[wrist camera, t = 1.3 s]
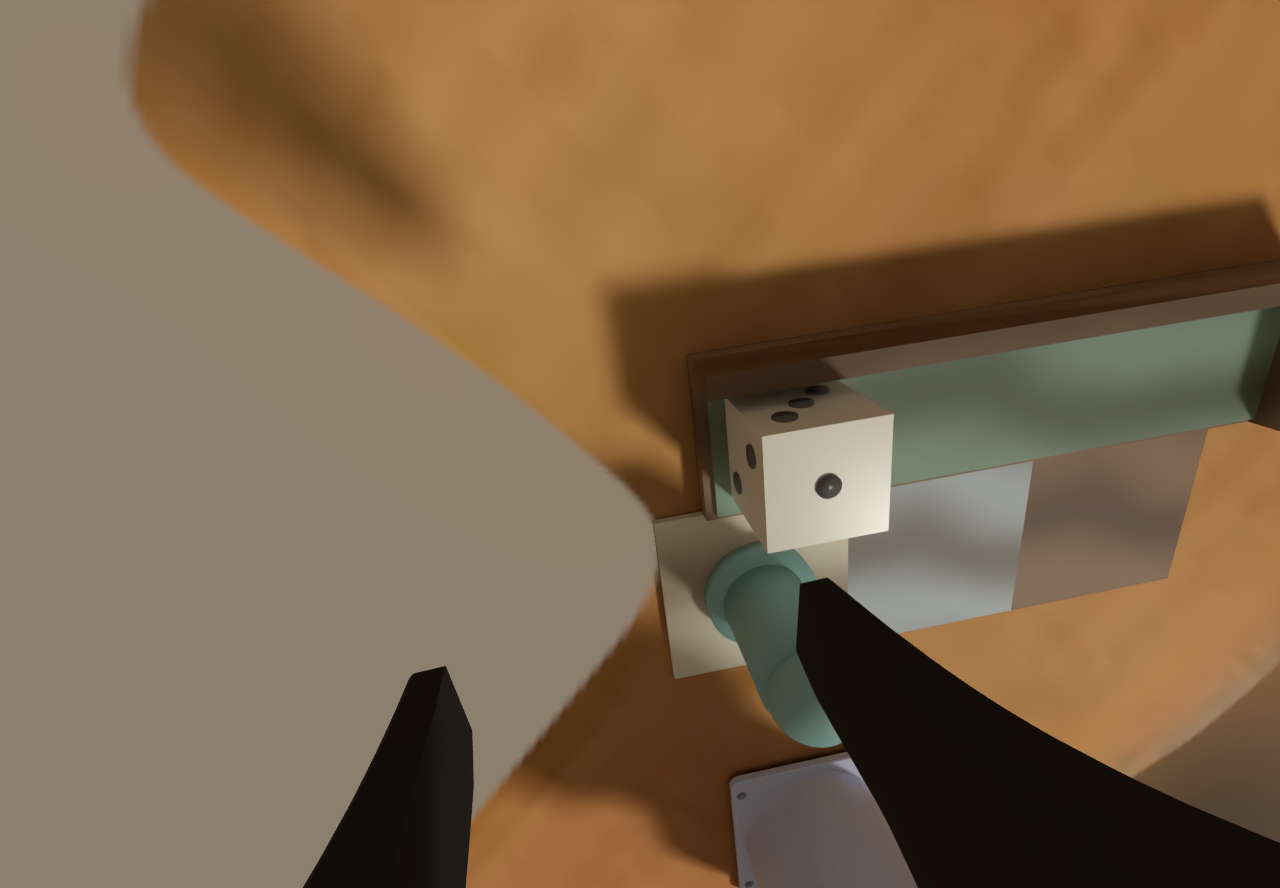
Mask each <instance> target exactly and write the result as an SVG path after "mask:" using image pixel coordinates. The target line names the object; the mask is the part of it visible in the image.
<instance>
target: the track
mask: <svg viewBox="0 0 1280 888" xmlns="http://www.w3.org/2000/svg"><path fill="white" fill-rule="evenodd" d="M1207 430H1208V429H1204V430H1199V431H1193V432H1188V433H1183V434H1177V435H1172V436H1166V437H1161V438H1155V439H1150V440H1145V441H1139V442H1134V443H1128V444H1123V445H1117V446H1112V447H1107V448H1101V449H1096V450H1090V451H1085V452H1079V453H1074V454H1069V455H1063V456H1058V457H1052V458H1047V459H1041V460H1036V461H1031V462H1025V463H1020V464H1014V465H1009V466H1003V467H998V468H993V469H987V470H982V471H976V472H971V473H965V474H960V475H955V476H949V477H944V478H938V479H933V480H927V481H922V482H917V483H911V484H906V485H900V486H895V487H890V508H889V530H888V531H884V532H879V533H874V534H869V535H863V536H858V537H853V538H848V539H842V540H837V541H832V542H827V543H821V544H816V545H811V546H806V547H800V548H795V549H794V550H796V551H797V552H798V553H799V554H800V555H801V556H802V557H803V559H804V560H805V561H806V563H807V564H808V565H809V567H810V568H811V570H812V571H813V573H814V575H815V577H816V580H818V579H822V578H827V577H828V578H829V579H831V580H832V581H833V582H834V583H836V584H837V585H838V586H839V587H841V588H842V589H843V590H844V591H845V592H847V593H848V594H849V595H850V596H852V597H853V598H854V599H855V600H856V601H858V602H859V603H860V604H861V605H862V606H864V607H865V608H866V609H867V610H869V611H870V612H871V613H872V614H874V615H875V616H876V617H877V618H879V619H880V620H881V621H882V622H884V623H885V624H886V625H887V626H889V627H890V628H891V629H892V630H894V631H895V632H896V633H903V632H908V631H913V630H917V629H922V628H927V627H932V626H937V625H942V624H947V623H951V622H956V621H961V620H966V619H971V618H976V617H981V616H985V615H990V614H995V613H1000V612H1005V611H1010V610H1015V609H1020V608H1024V607H1029V606H1034V605H1039V604H1044V603H1049V602H1054V601H1058V600H1063V599H1068V598H1073V597H1078V596H1083V595H1088V594H1092V593H1097V592H1102V591H1107V590H1112V589H1117V588H1122V587H1127V586H1131V585H1136V584H1141V583H1146V582H1151V581H1156V580H1161V579H1165V578H1168V574H1169V571H1170V567H1171V563H1172V560H1173V556H1174V552H1175V548H1176V545H1177V541H1178V537H1179V534H1180V530H1181V526H1182V523H1183V519H1184V515H1185V512H1186V508H1187V504H1188V501H1189V497H1190V493H1191V489H1192V486H1193V482H1194V478H1195V475H1196V471H1197V467H1198V464H1199V460H1200V456H1201V453H1202V449H1203V445H1204V442H1205V438H1206V434H1207ZM653 528H654V535H655V543H656V550H657V557H658V565H659V572H660V579H661V587H662V594H663V602H664V609H665V616H666V624H667V631H668V638H669V646H670V653H671V661H672V668H673V675H674V679H679V678H684V677H689V676H694V675H699V674H703V673H708V672H713V671H718V670H723V669H728V668H733V667H737V666H742V665H746V663H745V660H744V658H743V656H742V653H741V651H740V649H739V646H738V644H737V643H736V642H733V641H731V640H729V639H727V638H726V637H724V636H723V635H722V634H721V633H719V632H718V630H717V629H716V628H715V626H714V624H713V623H712V620H711V618H710V615H709V612H708V610H707V607H706V604H705V595H704V593H705V586H706V583H707V580H708V577H709V575H710V573H711V572H712V570H713V569H714V567H715V566H716V565H717V563H718V562H719V561H720V560H721V559H722V558H724V557H725V556H726V555H727V554H729V553H730V552H732V551H733V550H735V549H737V548H739V547H741V546H744V545H747V544H750V543H754V542H760V541H759V539H758V537H757V536H756V534H755V533H754V531H753V529H752V528H751V526H750V525H749V523H748V521H747V520H746V518H745V517H744V515H737V516H732V517H727V518H721V519H716V520H710V521H706V519H705V517H704V515H703V513H702V511H701V512H695V513H690V514H684V515H679V516H673V517H668V518H662V519H657V520H653Z"/></svg>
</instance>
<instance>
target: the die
mask: <svg viewBox="0 0 1280 888" xmlns="http://www.w3.org/2000/svg"><path fill="white" fill-rule="evenodd" d="M725 412H726V426H727V439H728V453H729V466H730V480H731V494H732V497H733V499H734V501H735V502H736V504H737V505H738V507H739V509H740V510H741V512H742V513H743V515H744V517H745V518H746V520H747V521H748V523H749V525H750V526H751V528H752V529H753V531H754V533H755V534H756V536H757V537H758V539H759V541H760V542H761V544H762V545H763V547H764V549H765V550H766V552H767V553H768V554H769V553H774V552H779V551H785V550H790V549H795V548H800V547H806V546H811V545H816V544H821V543H827V542H832V541H837V540H842V539H848V538H853V537H858V536H863V535H869V534H874V533H879V532H884V531H888V530H889V508H890V486H891V465H892V443H893V421H894V414H893V413H892V412H890V411H888V410H887V409H885V408H883V407H882V406H880V405H878V404H877V403H875V402H873V401H872V400H870V399H868V398H867V397H865V396H863V395H862V394H860V393H858V392H857V391H855V390H853V389H852V388H850V387H848V386H847V385H845V384H843V383H842V382H840V381H838V380H835V381H829V382H823V383H818V384H812V385H806V386H800V387H794V388H788V389H782V390H776V391H770V392H764V393H758V394H752V395H746V396H740V397H734V398H728V399H725Z"/></svg>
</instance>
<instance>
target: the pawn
mask: <svg viewBox="0 0 1280 888" xmlns="http://www.w3.org/2000/svg"><path fill="white" fill-rule="evenodd" d="M814 580H816V577H815V575H814V573H813V571H812V570H811V568H810V567H809V565H808V564H807V563H806V561H805V560H804V559H803V557H802V556H801V555H800V554H799V553H798V552H797V551H796V550H794V549H790V550H785V551H779V552H774V553H769V554H768V553H767V552H766V550H765V549H764V547H763V545H762V544H761V542H754V543H750V544H747V545H744V546H741V547H739V548H737V549H735V550H733V551H732V552H730V553H729V554H727V555H726V556H725V557H724V558H722V559H721V560H720V561H719V562H718V563H717V565H716V566H715V567H714V569H713V570H712V572H711V573H710V575H709V577H708V580H707V583H706V586H705V593H704V595H705V604H706V607H707V610H708V612H709V615H710V618H711V620H712V623H713V624H714V626H715V628H716V629H717V630H718V632H719V633H721V634H722V635H723V636H724V637H726V638H727V639H729V640H731V641H733V642H736V643H737V644H738V646H739V649H740V651H741V653H742V656H743V658H744V660H745V663H746V665H747V667H748V670H749V672H750V674H751V677H752V679H753V681H754V684H755V686H756V688H757V691H758V693H759V695H760V698H761V700H762V702H763V704H764V706H765V708H766V709H767V711H768V712H769V713H770V714H771V715H772V717H773V719H774V721H775V722H776V723H777V725H778V726H779V727H780V728H781V729H782V730H783V731H784V732H785V733H786V734H787V735H788V736H789V737H791V738H792V739H794V740H795V741H797V742H799V743H802V744H804V745H807V746H811V747H820V748H824V747H832V746H835V745H838V744H840V743H842V742H841V740H840V739H839V737H838V735H837V733H836V732H835V730H834V728H833V726H832V725H831V723H830V721H829V719H828V718H827V716H826V714H825V712H824V710H823V709H822V707H821V705H820V703H819V702H818V700H817V698H816V696H815V694H814V691H813V689H812V687H811V685H810V682H809V680H808V678H807V676H806V673H805V671H804V669H803V666H802V664H801V661H800V659H799V657H798V654H797V652H796V639H797V622H798V606H799V589H800V584H801V583H805V582H809V581H814Z"/></svg>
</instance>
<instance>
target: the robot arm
mask: <svg viewBox="0 0 1280 888" xmlns="http://www.w3.org/2000/svg"><path fill="white" fill-rule="evenodd" d="M796 652H797V654H798V657H799V659H800V661H801V664H802V666H803V669H804V671H805V673H806V676H807V678H808V680H809V682H810V685H811V687H812V689H813V691H814V694H815V696H816V698H817V700H818V702H819V703H820V705H821V707H822V709H823V710H824V712H825V714H826V716H827V718H828V719H829V721H830V723H831V725H832V726H833V728H834V730H835V732H836V733H837V735H838V737H839V739H840V740H841V742H842V744H843V745H844V747H845V749H846V751H847V752H843V753H839V754H834V755H830V756H825V757H821V758H816V759H812V760H807V761H803V762H798V763H794V764H789V765H785V766H780V767H776V768H771V769H766V770H762V771H757V772H753V773H748V774H744V775H739V776H736V777H734V778H733V779H732V780H731V781H730V784H729V787H730V797H731V808H732V818H733V828H734V839H735V849H736V860H737V870H738V881H739V888H1280V843H1278V842H1276V841H1274V840H1271V839H1269V838H1266V837H1264V836H1261V835H1259V834H1257V833H1254V832H1252V831H1250V830H1247V829H1245V828H1242V827H1240V826H1238V825H1235V824H1233V823H1231V822H1228V821H1226V820H1224V819H1221V818H1218V817H1216V816H1214V815H1211V814H1209V813H1207V812H1204V811H1202V810H1200V809H1197V808H1195V807H1193V806H1191V805H1188V804H1186V803H1184V802H1182V801H1179V800H1177V799H1175V798H1173V797H1171V796H1169V795H1166V794H1165V793H1162V792H1160V791H1158V790H1156V789H1154V788H1152V787H1149V786H1147V785H1145V784H1143V783H1141V782H1139V781H1137V780H1135V779H1133V778H1131V777H1129V776H1127V775H1125V774H1123V773H1121V772H1119V771H1117V770H1115V769H1113V768H1111V767H1109V766H1107V765H1105V764H1103V763H1101V762H1099V761H1097V760H1096V759H1094V758H1092V757H1090V756H1088V755H1086V754H1084V753H1082V752H1080V751H1078V750H1077V749H1075V748H1073V747H1071V746H1069V745H1067V744H1065V743H1063V742H1061V741H1059V740H1058V739H1056V738H1054V737H1052V736H1050V735H1049V734H1047V733H1045V732H1043V731H1042V730H1040V729H1038V728H1036V727H1035V726H1033V725H1031V724H1030V723H1028V722H1026V721H1025V720H1023V719H1021V718H1020V717H1018V716H1016V715H1015V714H1013V713H1011V712H1010V711H1008V710H1006V709H1005V708H1003V707H1002V706H1000V705H998V704H997V703H995V702H994V701H992V700H991V699H989V698H987V697H986V696H984V695H983V694H981V693H980V692H978V691H977V690H975V689H974V688H972V687H971V686H969V685H968V684H966V683H965V682H963V681H962V680H961V679H959V678H958V677H956V676H955V675H953V674H952V673H950V672H949V671H948V670H946V669H945V668H943V667H942V666H941V665H939V664H938V663H936V662H935V661H934V660H932V659H931V658H929V657H928V656H927V655H925V654H924V653H923V652H921V651H920V650H919V649H917V648H916V647H915V646H913V645H912V644H911V643H909V642H908V641H907V640H905V639H904V638H903V637H902V636H900V635H899V634H898V633H896V632H895V631H894V630H892V629H891V628H890V627H889V626H887V625H886V624H885V623H884V622H882V621H881V620H880V619H879V618H877V617H876V616H875V615H874V614H872V613H871V612H870V611H869V610H867V609H866V608H865V607H864V606H862V605H861V604H860V603H859V602H858V601H856V600H855V599H854V598H853V597H852V596H850V595H849V594H848V593H847V592H845V591H844V590H843V589H842V588H841V587H839V586H838V585H837V584H836V583H834V582H833V581H832V580H831V579H829V578H828V577H827V578H822V579H818V580H814V581H809V582H805V583H801V584H800V589H799V606H798V622H797V639H796ZM473 781H474V780H473V742H472V729H471V727H470V724H469V722H468V719H467V717H466V714H465V712H464V709H463V707H462V705H461V702H460V700H459V697H458V695H457V693H456V690H455V688H454V685H453V683H452V681H451V678H450V675H449V673H448V671H447V668H446V666H444V667H440V668H435V669H431V670H427V671H422V672H418V673H414V674H413V675H412V676H411V677H410V678H409V680H408V683H407V685H406V687H405V690H404V692H403V694H402V697H401V699H400V701H399V703H398V706H397V708H396V710H395V713H394V715H393V717H392V719H391V722H390V724H389V726H388V728H387V730H386V732H385V735H384V737H383V739H382V741H381V743H380V745H379V748H378V750H377V752H376V754H375V756H374V758H373V760H372V762H371V764H370V766H369V768H368V770H367V772H366V774H365V776H364V778H363V780H362V782H361V784H360V786H359V788H358V790H357V792H356V794H355V796H354V798H353V800H352V801H351V803H350V805H349V807H348V809H347V811H346V813H345V814H344V817H343V818H342V820H341V822H340V823H339V825H338V827H337V829H336V831H335V833H334V834H333V836H332V838H331V840H330V842H329V843H328V845H327V847H326V849H325V851H324V853H323V854H322V856H321V858H320V859H319V861H318V863H317V865H316V866H315V868H314V870H313V871H312V873H311V875H310V876H309V878H308V880H307V881H306V883H305V885H304V886H303V888H466V876H467V864H468V852H469V840H470V828H471V815H472V802H473V787H474V782H473Z"/></svg>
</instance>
